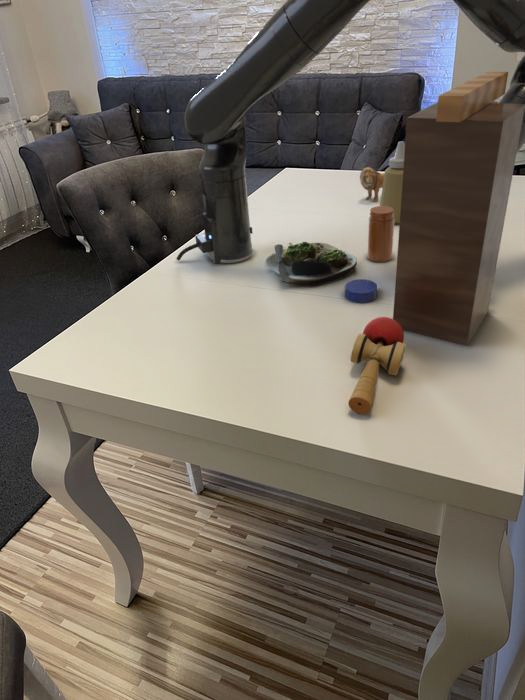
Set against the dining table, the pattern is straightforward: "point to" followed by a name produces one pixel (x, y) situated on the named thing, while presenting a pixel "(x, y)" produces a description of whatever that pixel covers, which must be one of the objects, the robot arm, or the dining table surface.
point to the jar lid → (361, 290)
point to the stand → (453, 218)
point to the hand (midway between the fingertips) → (433, 231)
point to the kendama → (375, 358)
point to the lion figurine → (371, 181)
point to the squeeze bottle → (394, 182)
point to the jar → (380, 233)
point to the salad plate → (310, 263)
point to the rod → (470, 97)
